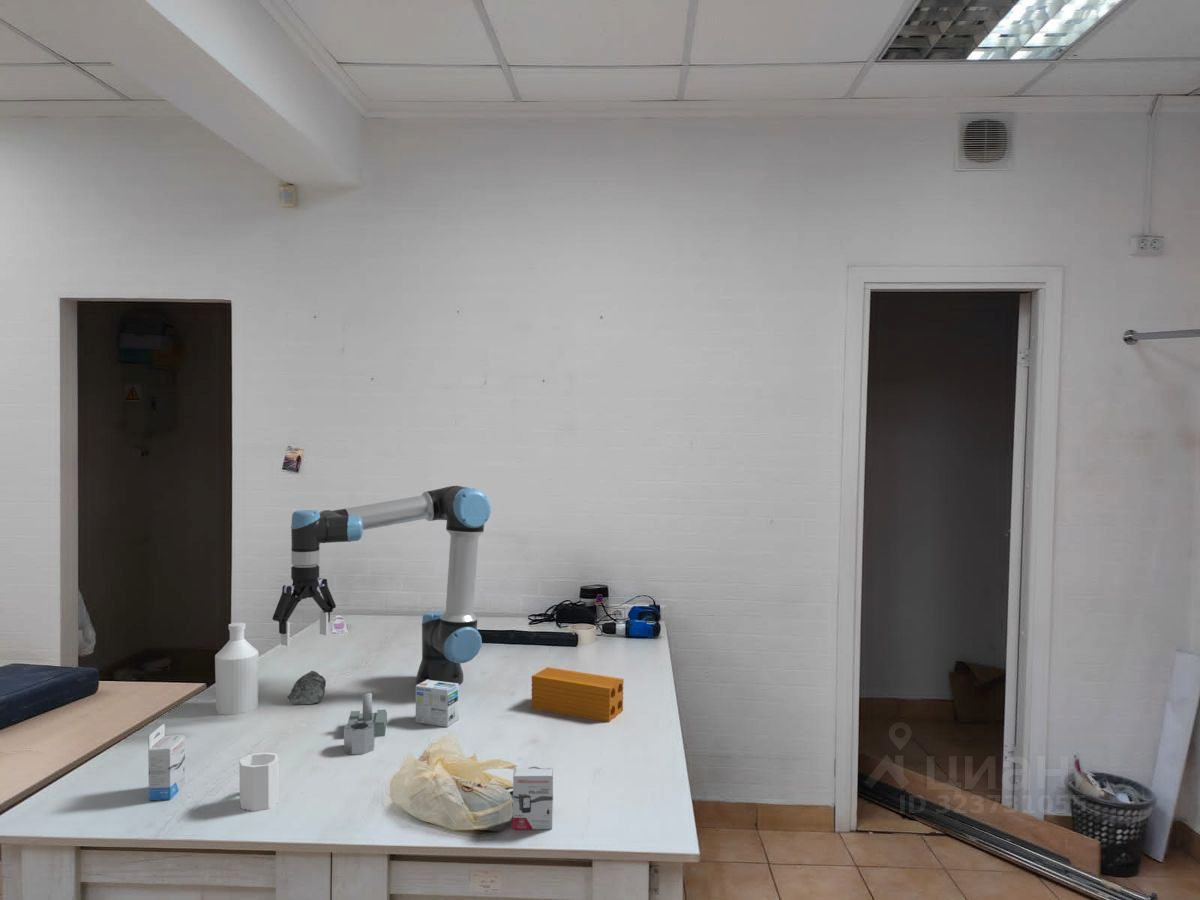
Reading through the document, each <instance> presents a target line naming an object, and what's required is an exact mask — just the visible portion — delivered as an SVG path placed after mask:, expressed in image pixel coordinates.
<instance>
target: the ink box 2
mask: <svg viewBox="0 0 1200 900" xmlns="http://www.w3.org/2000/svg"><path fill="white" fill-rule="evenodd" d="M512 774H513V776H512V778H513V779H512V785H513V786H512V830H514V831H515V830H552V829H553V819H554V817H553V815H554V813H553V811H554V767H553V766H552V765H516V766H514V767H513V772H512Z"/></svg>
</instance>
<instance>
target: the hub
mask: <svg viewBox="0 0 1200 900" xmlns="http://www.w3.org/2000/svg"><path fill="white" fill-rule="evenodd" d="M343 744H344V745H343V752H344V753H346V754H349V755H353V756H354V755H365V754H367V753H370V752H372V751H374V749H375V736H374V723H372V722H369V721H354V722H352V723H349V724H348V723H346V724H345V725H344V727H343Z"/></svg>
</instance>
